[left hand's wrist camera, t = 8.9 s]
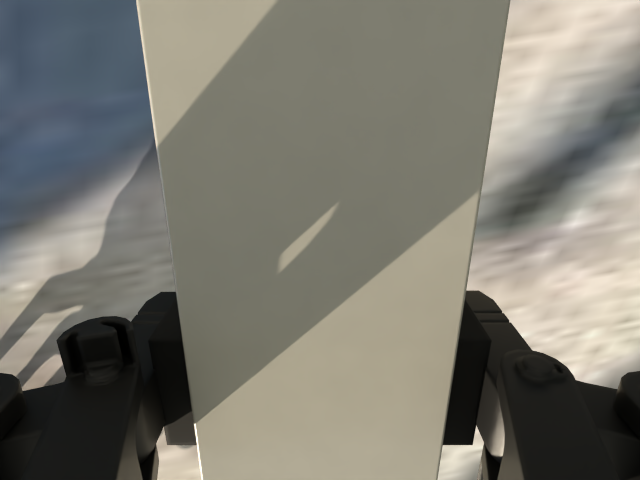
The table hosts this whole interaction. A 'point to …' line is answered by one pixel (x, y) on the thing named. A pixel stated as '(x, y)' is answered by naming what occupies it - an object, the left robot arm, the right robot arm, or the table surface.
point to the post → (321, 221)
